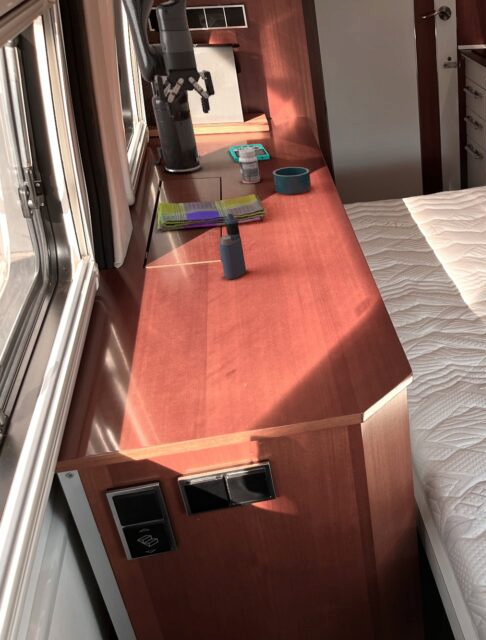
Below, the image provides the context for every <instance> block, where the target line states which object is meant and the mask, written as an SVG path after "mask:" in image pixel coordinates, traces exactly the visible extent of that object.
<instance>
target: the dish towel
mask: <svg viewBox="0 0 486 640" xmlns="http://www.w3.org/2000/svg"><path fill="white" fill-rule="evenodd" d="M157 207H158V212H157V213H158V214H157V231H160V232H161V231H172V230H173V231H174V230H183V229H191V228H205V227H207V228H208V227H218V226H226V224H225V219H227V218H228V214H233V217H234V218H237V220H238V224H245V223H250V222H255V221H256V222H257V221H262V217H266V215H267V213H268V211H267V210H266V208H265V207H264V205H263V204H262V202H261V199H260V197H259V196H258V194H254V193H253V194H245V195H243V196H239V197H235V198H228V199H221V200H212V201H191V202H179V203H174V202H172V203H171V202H170V203H169V202H158V203H157Z"/></svg>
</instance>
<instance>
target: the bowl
mask: <svg viewBox="0 0 486 640" xmlns="http://www.w3.org/2000/svg"><path fill="white" fill-rule="evenodd" d="M272 179H273V186H274V191H275V192H277V193H280V194H282V195H287V196H288V195H294V196H295V195H300V194H304V193H306V192H308V191H310V190H311V189H312V182H311V172H310V170H309V169H308V168H306V167H301V166H288V167H287V166H286V167H280V168H278V169H275V170H273V171H272Z"/></svg>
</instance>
